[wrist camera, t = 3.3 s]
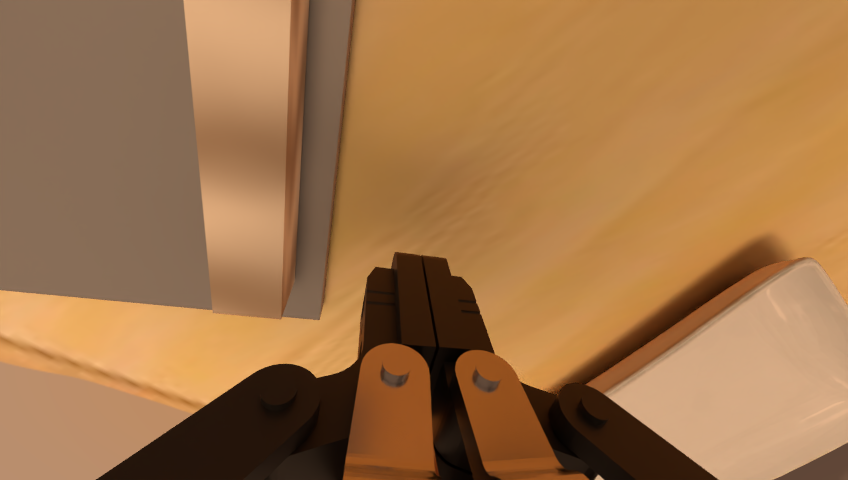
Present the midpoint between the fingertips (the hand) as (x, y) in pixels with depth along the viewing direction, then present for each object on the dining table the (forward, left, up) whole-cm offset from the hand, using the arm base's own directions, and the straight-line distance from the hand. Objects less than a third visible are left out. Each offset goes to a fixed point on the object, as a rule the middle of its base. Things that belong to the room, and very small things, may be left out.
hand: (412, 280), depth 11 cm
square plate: (+18, +30, -10) cm, 36 cm away
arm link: (-3, -6, -8) cm, 10 cm away
